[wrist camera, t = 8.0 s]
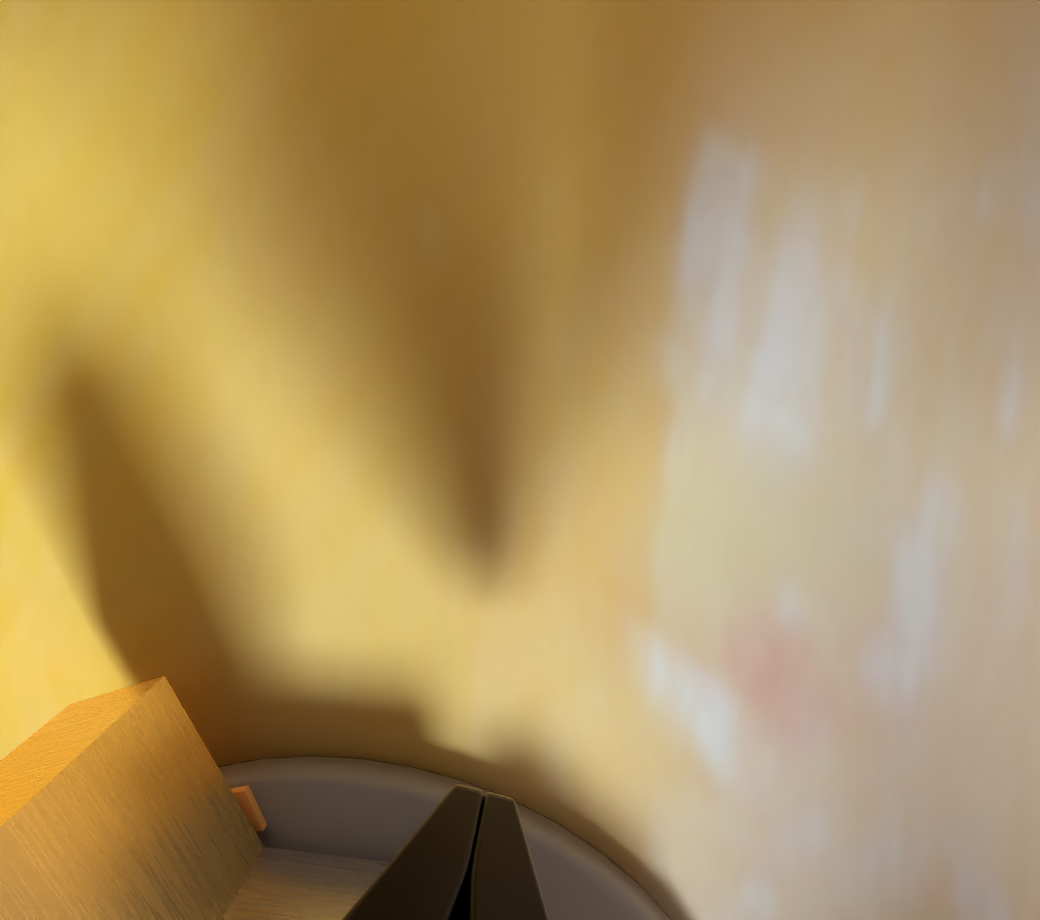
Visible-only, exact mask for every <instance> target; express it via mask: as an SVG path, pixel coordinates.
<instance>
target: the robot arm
mask: <svg viewBox="0 0 1040 920" xmlns="http://www.w3.org/2000/svg"><path fill="white" fill-rule="evenodd" d="M483 798H484V799H483ZM342 920H549V916H548V913H547V909H546V906H545V902H544V899H543V895H542V892H541V888H540V885H539V882H538V878H537V875H536V871H535V868H534V864H533V861H532V857H531V854H530V850H529V847H528V843H527V840H526V836H525V833H524V829H523V826H522V822H521V819H520V815H519V812H518V808H517V805H516V802H515V800H514V799H513V798H511V797H508V796H504V795H500V794H496V793H492V792H488V793H486V794H485V796H484V794H483V791H482V790H480V789H477V788H473V787H469V786H465V785H461V784H457V785H455V786H454V787H452V788H451V790H450V791H449V792H448V793H447V794H446V796H445V797H444V798H443V799H442V800H441V802H440V803H439V804H438V805H437V806H436V808H435V809H434V810H433V811H432V812H431V814H430V815H429V816H428V817H427V818H426V820H425V821H424V822H423V823H422V824H421V826H420V827H419V828H418V829H417V830H416V832H415V833H414V834H413V835H412V836H411V838H410V839H409V840H408V841H407V842H406V844H405V845H404V846H403V847H402V848H401V849H400V851H399V852H398V853H397V854H396V855H395V857H394V858H393V859H392V860H391V861H390V863H389V864H388V865H387V866H386V867H385V869H384V870H383V871H382V872H381V873H380V875H379V876H378V877H377V878H376V879H375V881H374V882H373V883H372V884H371V885H370V887H369V888H368V889H367V890H366V891H365V893H364V894H363V895H362V896H361V897H360V899H359V900H358V901H357V902H356V903H355V905H354V906H353V907H352V908H351V909H350V911H349V912H348V913H347V914H346V915H345V917H344V918H343V919H342Z"/></svg>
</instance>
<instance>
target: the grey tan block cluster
mask: <svg viewBox="0 0 1040 920" xmlns="http://www.w3.org/2000/svg"><path fill="white" fill-rule="evenodd" d="M389 863H390V862H385V861H377V860H369V859H360V858H352V857H344V856H336V855H327V854H319V853H311V852H302V851H294V850H286V849H278V848H269V847H264V846H263V844H262V842H261V841H260V839H259V837H258V836H257V834H256V832H255V830H254V829H253V827H252V825H251V823H250V822H249V820H248V818H247V817H246V815H245V813H244V811H243V810H242V808H241V806H240V805H239V803H238V801H237V799H236V798H235V796H234V794H233V792H232V791H231V789H230V787H229V786H228V784H227V782H226V780H225V779H224V777H223V775H222V774H221V772H220V770H219V768H218V767H217V765H216V763H215V761H214V760H213V758H212V756H211V755H210V753H209V751H208V749H207V748H206V746H205V744H204V743H203V741H202V739H201V737H200V736H199V734H198V732H197V730H196V729H195V727H194V725H193V724H192V722H191V720H190V718H189V717H188V715H187V713H186V712H185V710H184V708H183V706H182V705H181V703H180V701H179V700H178V698H177V696H176V694H175V693H174V691H173V689H172V687H171V686H170V684H169V682H168V681H167V679H166V677H165V676H162V677H159V678H155V679H152V680H149V681H146V682H142V683H139V684H136V685H132V686H129V687H126V688H122V689H119V690H116V691H113V692H109V693H106V694H103V695H99V696H96V697H93V698H90V699H86V700H83V701H80V702H76V703H73V704H70V705H69V706H68V707H66V708H65V709H64V710H63V711H61V712H60V713H59V714H58V715H56V716H55V717H54V718H53V719H51V720H50V721H49V722H48V723H47V724H45V725H44V726H43V727H42V728H40V729H39V730H38V731H37V732H35V733H34V734H33V735H32V736H31V737H29V738H28V739H27V740H26V741H24V742H23V743H22V744H21V745H19V746H18V747H17V748H16V749H14V750H13V751H12V752H11V753H10V754H8V755H7V756H6V757H5V758H3V759H2V760H1V761H0V920H342V919H343V918H344V917H345V915H346V914H347V913H348V912H349V911H350V909H351V908H352V907H353V906H354V905H355V903H356V902H357V901H358V900H359V899H360V897H361V896H362V895H363V894H364V893H365V891H366V890H367V889H368V888H369V887H370V885H371V884H372V883H373V882H374V881H375V879H376V878H377V877H378V876H379V875H380V873H381V872H382V871H383V870H384V869H385V867H386V866H387V865H388V864H389Z"/></svg>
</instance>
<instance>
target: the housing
mask: <svg viewBox="0 0 1040 920" xmlns="http://www.w3.org/2000/svg"><path fill="white" fill-rule="evenodd" d="M218 768H219V770H220V772H221V774H222V775H223V777H224V779H225V780H226V782H227V784H228V786H229V787H230V789H231V791H232V792H233V794H234V796H235V798H236V799H237V801H238V803H239V805H240V806H241V808H242V810H243V811H244V813H245V815H246V817H247V818H248V820H249V822H250V823H251V825H252V827H253V829H254V830H255V832H256V834H257V836H258V837H259V839H260V841H261V842H262V844H263V846H264V847H269V848H278V849H286V850H294V851H302V852H311V853H319V854H327V855H336V856H344V857H352V858H360V859H369V860H377V861H385V862H390V861H391V860H392V859H393V858H394V857H395V855H396V854H397V853H398V852H399V851H400V849H401V848H402V847H403V846H404V845H405V844H406V842H407V841H408V840H409V839H410V838H411V836H412V835H413V834H414V833H415V832H416V830H417V829H418V828H419V827H420V826H421V824H422V823H423V822H424V821H425V820H426V818H427V817H428V816H429V815H430V814H431V812H432V811H433V810H434V809H435V808H436V806H437V805H438V804H439V803H440V802H441V800H442V799H443V798H444V797H445V796H446V794H447V793H448V792H449V791H450V790H451V788H452V787H454V786H455V785H457V784H461V785H465V786H469V787H473V788H477V789H480V790H482V791H483V794H484V796H485V794H486V793H488V792H489V791H487V790H484V789H482V788H479V787H477V786H474V785H471V784H469V783H466V782H464V781H460V780H457V779H453V778H450V777H446V776H442V775H439V774H435V773H431V772H428V771H424V770H420V769H417V768H413V767H408V766H402V765H396V764H389V763H383V762H377V761H371V760H365V759H356V758H337V757H317V756H303V757H288V758H272V759H260V760H254V761H249V762H244V763H239V764H233V765H228V766H223V767H218ZM483 799H484V798H483ZM516 805H517V808H518V812H519V815H520V819H521V822H522V826H523V829H524V833H525V836H526V840H527V843H528V847H529V850H530V854H531V857H532V861H533V864H534V868H535V871H536V875H537V878H538V882H539V885H540V888H541V892H542V895H543V899H544V902H545V906H546V909H547V913H548V916H549V920H671V919H670V918H669V917H668V916H667V915H666V914H665V913H664V911H663V910H662V909H661V908H660V907H659V906H658V905H657V904H656V903H655V902H654V901H653V899H652V898H651V897H650V896H649V895H648V894H647V893H646V892H645V891H644V890H643V889H642V887H641V886H640V885H639V884H638V883H636V882H635V881H634V880H633V879H632V878H631V877H629V876H628V875H627V874H626V873H625V872H623V871H622V870H621V869H620V868H619V867H618V866H616V865H615V864H614V863H613V862H612V861H610V860H609V859H608V858H607V857H606V856H605V855H603V854H602V853H601V852H599V851H598V850H596V849H595V848H593V847H592V846H590V845H589V844H587V843H586V842H584V841H583V840H581V839H580V838H578V837H577V836H575V835H574V834H572V833H571V832H569V831H568V830H566V829H565V828H563V827H562V826H560V825H559V824H557V823H555V822H553V821H551V820H549V819H547V818H545V817H543V816H541V815H539V814H538V813H536V812H534V811H532V810H530V809H528V808H526V807H524V806H522V805H520V804H518V803H516Z"/></svg>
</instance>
